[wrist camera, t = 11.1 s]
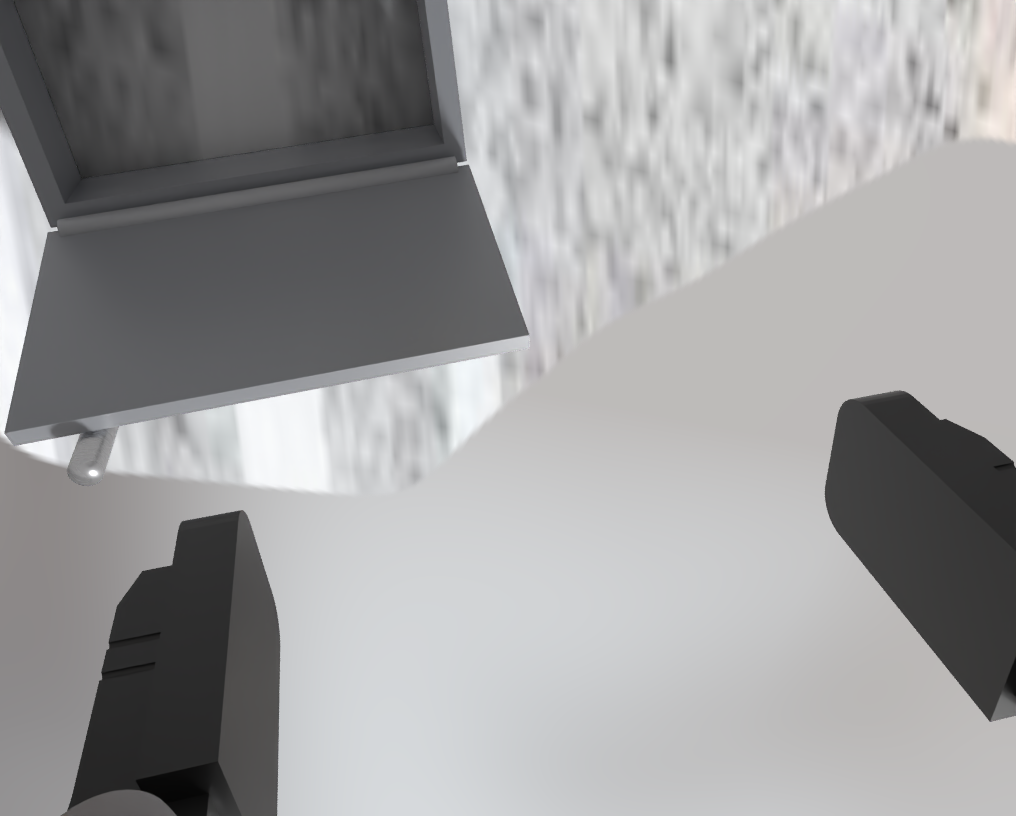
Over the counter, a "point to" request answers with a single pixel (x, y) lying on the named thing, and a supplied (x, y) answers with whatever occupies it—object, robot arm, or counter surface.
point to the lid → (260, 297)
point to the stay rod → (91, 456)
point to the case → (63, 194)
